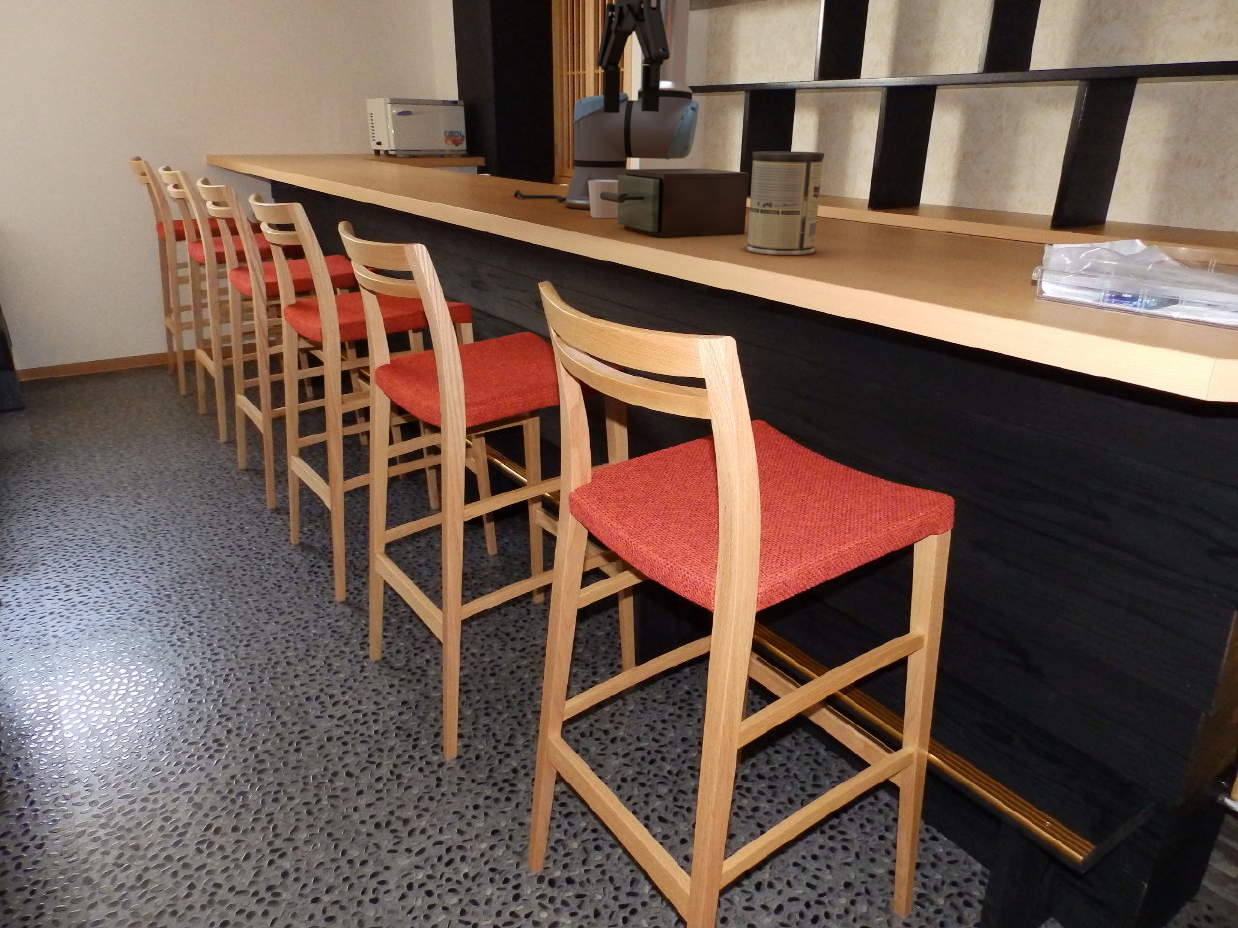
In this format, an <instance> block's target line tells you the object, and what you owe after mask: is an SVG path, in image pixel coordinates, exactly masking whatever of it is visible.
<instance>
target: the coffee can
mask: <svg viewBox="0 0 1238 928" xmlns="http://www.w3.org/2000/svg"><path fill="white" fill-rule="evenodd" d="M751 155H752V167H751V182H750V183H751V184H750V201H749V215H748V227H747V229H748V231H747V243H746V250H747V251H748V252H751V253H755V254H760V255H761V254H762V255H771V256H772V255H773V256H806V255H811V254H813V253H814V252H815V243H816V232H817V224H818V223H817V222H818V213H819V212H818V211H819V202H820V191H821V181H822V180H821V179H822V172H823V161H824V158H825V152H819V151H818V152H817V151H816V152H815V151H791V150H790V151H787V150H785V151H783V150H779V151H777V150H776V151H775V150H773V151H772V150H770V151H768V150H767V151H766V150H763V151H762V150H761V151H759V150H758V151H752V154H751Z"/></svg>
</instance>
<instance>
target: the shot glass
mask: <svg viewBox="0 0 1238 928" xmlns="http://www.w3.org/2000/svg"><path fill="white" fill-rule="evenodd" d="M588 186H589V198H590V209H589V210H590V217H591V218H595V219H617V214H618V203H617V202H612V201H607V200H602V199H601V198H600V193H601V192H603V191H605V192H611V193H617V194H618V180H589V181H588Z"/></svg>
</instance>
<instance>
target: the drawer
mask: <svg viewBox="0 0 1238 928" xmlns="http://www.w3.org/2000/svg"><path fill="white" fill-rule="evenodd" d="M661 194H662V179H660V178H652V177H645V176H628V175H618V194H617V193H611V192H605V191H603V192H601V193H600V198H601V199H602V200H607V201H612V202H617V203H618V214H617V218H616V219H617V221H616V222H617V224H618V225H620V226H624V225H625V226H629V227H633V228H637V229H641V230H646V231H650V232H658V228H660V224H661Z"/></svg>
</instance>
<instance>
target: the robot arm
mask: <svg viewBox="0 0 1238 928" xmlns="http://www.w3.org/2000/svg"><path fill="white" fill-rule="evenodd" d="M690 1H691V0H615V2H614V3H613V2H607V3H606V5H605V17H604V18H605V19H604V23H603V30H602V33H601V39H600V44H599V45H600V46H599V49H598V54H597V60H596V67H599V68H601V70H602V71H603V94H599V95H592V96H586V97H582V98H579V99H578V100H577V101H576V102H575V104H574V110H573V112H574V113H573V120H572V124H573V160H574V161H573V173H572V176H571V180H570V183H569V186H568V190H567V193H566V196H562V195H557V194H555V195H554V194H524V193H522V192H521V191H520V190H519V189H516V190H515V192H514V194H513V197H514V198H517V197H518V196H519V197H520V198H521V199H527V200H529V199H531V200H534V199H537V200H540V199H541V200H544V199H545V200H549V199H550V200H557V201H558V202H565V206H566V208H569V209H570V208H571V209H579V210H590V198H589V186H588V181H589V180H618V175H625V169H628V167H627V165H628V164H627V163H628V161H627V160H628V159H655V160H656V159H658V160H668V161H669V160H674V159H678V160H680V159H686V157H688V156H689V155H690V154H691V152H692V149H693V145H694V141H695V136H696V130H697V125H698V117H699V116H698V115H699V107H700V105H699V102H698V101H697V100H696V99H693V91H692V89H691V88H690V87H689V86H688V84H687V63H688V61H687V60H688V45H689V44H688V43H689V42H688V41H689V22H690V21H689V20H690V19H689V18H690ZM634 33H635V36H636V39H637V42H638V45H639V47H640V49H641V52H642V55H643V60H642V62H641V64H642V71H641V72H642V73H641V74H642V76H641V87H639V89H638V90H637V99H636V100H635V99H631V100H630V97H629V95H628V93H626V92H621V71H622V69H621V67H620V62H621V59H622V56H623V53H624V51H625V47H626V45H627V42H628V39H629V37H630V36H631V35H632V34H634Z"/></svg>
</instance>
